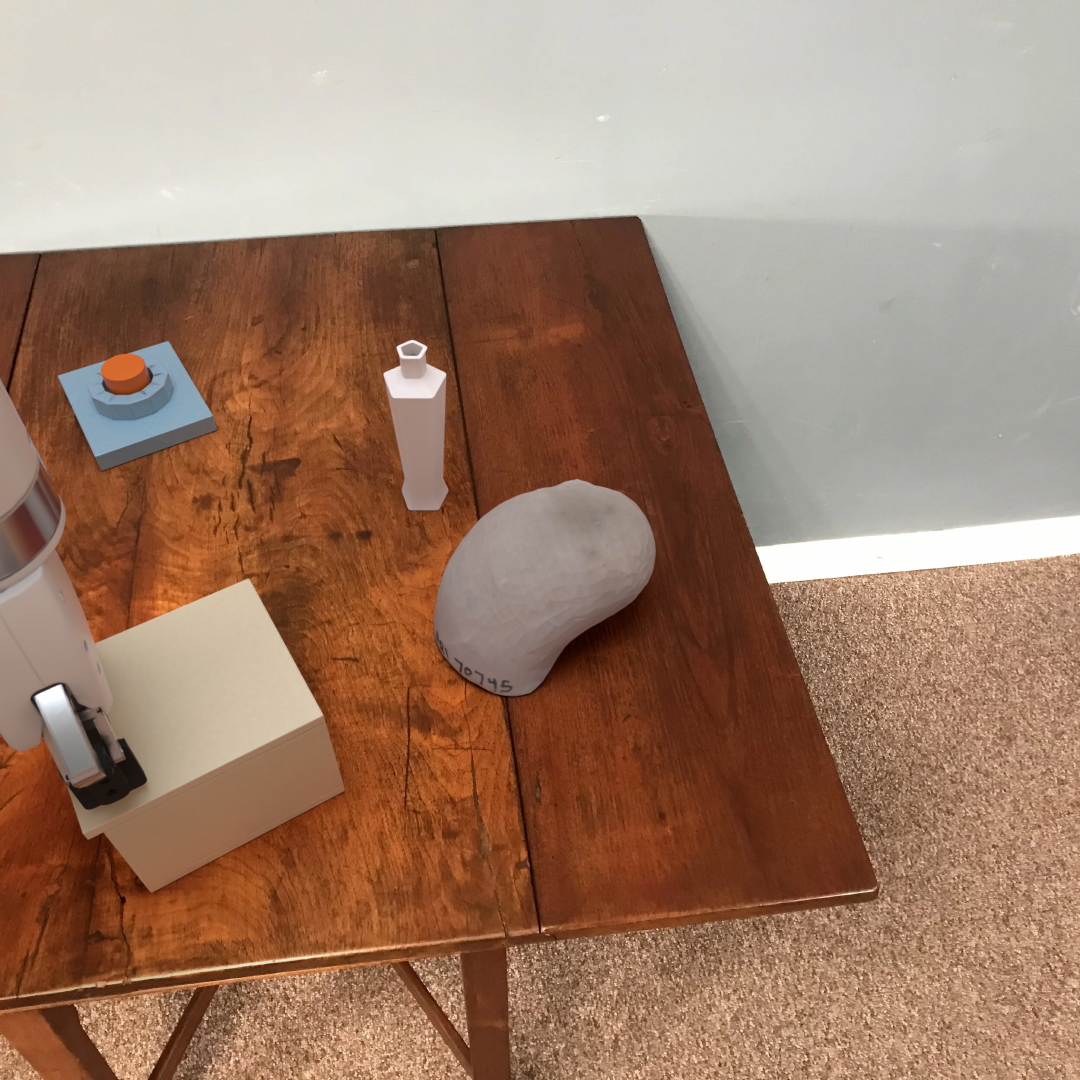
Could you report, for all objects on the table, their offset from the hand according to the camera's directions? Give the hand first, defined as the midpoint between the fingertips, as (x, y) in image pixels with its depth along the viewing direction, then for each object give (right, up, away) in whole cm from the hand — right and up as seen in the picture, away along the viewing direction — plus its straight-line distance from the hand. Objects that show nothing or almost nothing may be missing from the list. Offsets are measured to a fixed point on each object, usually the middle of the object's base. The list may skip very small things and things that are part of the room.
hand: (91, 722), depth 52 cm
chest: (+4, -5, +10) cm, 11 cm away
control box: (-11, +22, +32) cm, 40 cm away
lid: (+4, +1, +3) cm, 5 cm away
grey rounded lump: (+25, +5, +19) cm, 32 cm away
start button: (-11, +24, +29) cm, 39 cm away
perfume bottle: (+15, +14, +26) cm, 33 cm away
